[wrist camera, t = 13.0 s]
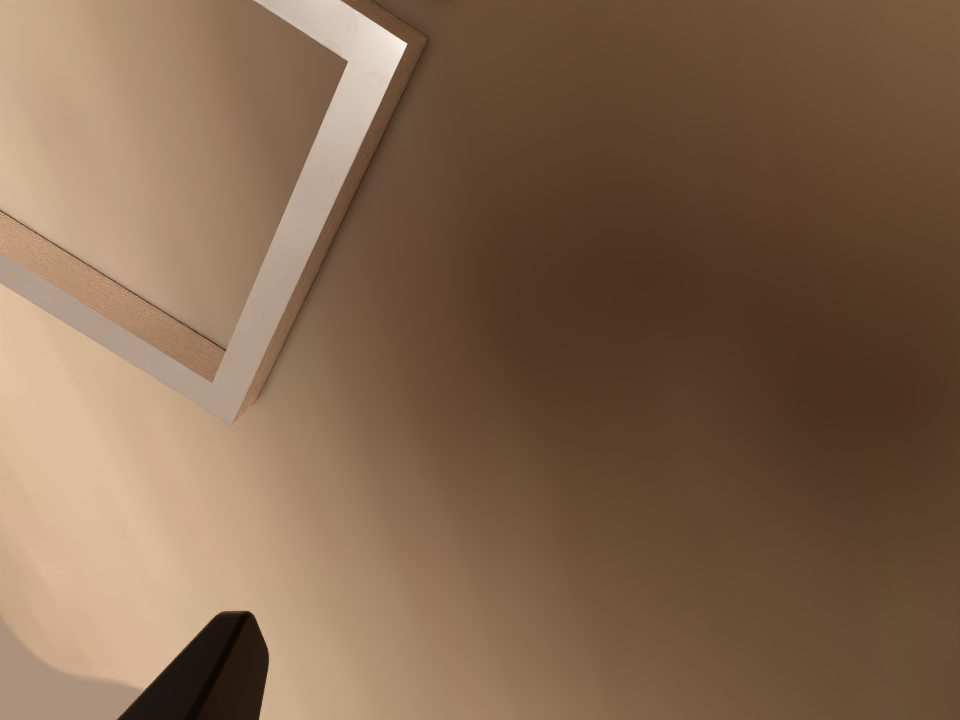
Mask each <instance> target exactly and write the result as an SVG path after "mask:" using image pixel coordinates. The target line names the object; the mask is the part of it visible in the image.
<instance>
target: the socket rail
mask: <svg viewBox="0 0 960 720" xmlns="http://www.w3.org/2000/svg"><path fill="white" fill-rule="evenodd" d="M255 1H256V2H258V3H259V4H261V5H262V6H264V7H265V8H267V9H268V10H270V11H272V12H273V13H275V14H276V15H278V16H279V17H281V18H282V19H284V20H285V21H287V22H289V23H290V24H292V25H293V26H295V27H296V28H298V29H299V30H301V31H302V32H304V33H305V34H307V35H309V36H310V37H312V38H313V39H315V40H316V41H318V42H319V43H321V44H322V45H324V46H326V47H327V48H329V49H330V50H332V51H333V52H335V53H336V54H338V55H339V56H341V57H342V58H344V59H346V60H347V61H348V63H347V66H346V68H345V71H344V73H343V75H342V78H341V80H340V82H339V85H338V87H337V89H336V92H335V94H334V97H333V99H332V101H331V104H330V106H329V108H328V111H327V113H326V115H325V118H324V120H323V123H322V125H321V127H320V130H319V132H318V134H317V137H316V139H315V141H314V144H313V146H312V149H311V151H310V153H309V156H308V158H307V160H306V163H305V165H304V167H303V170H302V172H301V175H300V177H299V179H298V182H297V184H296V186H295V189H294V191H293V193H292V196H291V198H290V201H289V203H288V205H287V208H286V210H285V212H284V215H283V217H282V219H281V222H280V224H279V227H278V229H277V231H276V234H275V236H274V238H273V241H272V243H271V245H270V248H269V250H268V253H267V255H266V257H265V260H264V262H263V264H262V267H261V269H260V271H259V274H258V276H257V279H256V281H255V283H254V286H253V288H252V290H251V293H250V295H249V298H248V300H247V302H246V305H245V307H244V309H243V312H242V314H241V316H240V319H239V321H238V324H237V326H236V328H235V331H234V333H233V335H232V338H231V340H230V342H229V345H228V347H227V350H226V351H225V350H223V349H222V348H220V347H218V346H217V345H215V344H214V343H212V342H210V341H209V340H207V339H206V338H204V337H202V336H201V335H199V334H198V333H196V332H194V331H193V330H191V329H189V328H188V327H186V326H185V325H183V324H181V323H180V322H178V321H177V320H175V319H173V318H172V317H170V316H168V315H167V314H165V313H164V312H162V311H160V310H159V309H157V308H156V307H154V306H152V305H151V304H149V303H147V302H146V301H144V300H143V299H141V298H139V297H138V296H136V295H135V294H133V293H131V292H130V291H128V290H126V289H125V288H123V287H122V286H120V285H118V284H117V283H115V282H114V281H112V280H110V279H109V278H107V277H106V276H104V275H102V274H101V273H99V272H97V271H96V270H94V269H93V268H91V267H89V266H88V265H86V264H85V263H83V262H81V261H80V260H78V259H76V258H75V257H73V256H72V255H70V254H68V253H67V252H65V251H64V250H62V249H60V248H59V247H57V246H55V245H54V244H52V243H51V242H49V241H47V240H46V239H44V238H43V237H41V236H39V235H38V234H36V233H35V232H33V231H31V230H30V229H28V228H26V227H25V226H23V225H22V224H20V223H18V222H17V221H15V220H14V219H12V218H10V217H9V216H7V215H5V214H4V213H2V212H1V211H0V283H1V284H3V285H4V286H6V287H8V288H9V289H11V290H12V291H14V292H16V293H17V294H19V295H21V296H22V297H24V298H25V299H27V300H29V301H30V302H32V303H34V304H35V305H37V306H39V307H40V308H42V309H43V310H45V311H47V312H48V313H50V314H52V315H53V316H55V317H56V318H58V319H60V320H61V321H63V322H65V323H66V324H68V325H69V326H71V327H73V328H74V329H76V330H78V331H79V332H81V333H82V334H84V335H86V336H87V337H89V338H91V339H92V340H94V341H96V342H97V343H99V344H100V345H102V346H104V347H105V348H107V349H109V350H110V351H112V352H113V353H115V354H117V355H118V356H120V357H122V358H123V359H125V360H126V361H128V362H130V363H131V364H133V365H135V366H136V367H138V368H139V369H141V370H143V371H144V372H146V373H148V374H149V375H151V376H153V377H154V378H156V379H157V380H159V381H161V382H162V383H164V384H166V385H167V386H169V387H170V388H172V389H174V390H175V391H177V392H179V393H180V394H182V395H183V396H185V397H187V398H188V399H190V400H192V401H193V402H195V403H197V404H198V405H200V406H201V407H203V408H205V409H206V410H208V411H210V412H211V413H213V414H214V415H216V416H218V417H219V418H221V419H223V420H224V421H226V422H227V423H229V424H231V425H232V424H233V423H234V422H235V421H236V420H237V419H238V418H239V417H240V416H241V415H242V414H243V413H244V412H245V411H246V410H247V409H248V408H249V407H250V406H251V405H252V404H253V403H254V402H255V401H256V400H257V398H258V396H259V394H260V392H261V390H262V388H263V386H264V384H265V382H266V379H267V377H268V375H269V373H270V371H271V369H272V367H273V365H274V363H275V360H276V358H277V356H278V354H279V352H280V350H281V348H282V346H283V344H284V342H285V339H286V337H287V335H288V333H289V331H290V329H291V327H292V325H293V323H294V320H295V318H296V316H297V314H298V312H299V310H300V308H301V306H302V304H303V302H304V299H305V297H306V295H307V293H308V291H309V289H310V287H311V285H312V283H313V280H314V278H315V276H316V274H317V272H318V270H319V268H320V266H321V264H322V262H323V259H324V257H325V255H326V253H327V251H328V249H329V247H330V245H331V243H332V240H333V238H334V236H335V234H336V232H337V230H338V228H339V226H340V224H341V222H342V219H343V217H344V215H345V213H346V211H347V209H348V207H349V205H350V203H351V201H352V198H353V196H354V194H355V192H356V190H357V188H358V186H359V184H360V182H361V179H362V177H363V175H364V173H365V171H366V169H367V167H368V165H369V163H370V161H371V158H372V156H373V154H374V152H375V150H376V148H377V146H378V144H379V142H380V139H381V137H382V135H383V133H384V131H385V129H386V127H387V125H388V123H389V121H390V118H391V116H392V114H393V112H394V110H395V108H396V106H397V104H398V102H399V99H400V97H401V95H402V93H403V91H404V89H405V87H406V85H407V83H408V81H409V78H410V76H411V74H412V72H413V70H414V68H415V66H416V64H417V62H418V59H419V57H420V55H421V53H422V51H423V49H424V47H425V45H426V43H427V41H428V38H427V37H426V36H424V35H423V34H421V33H419V32H418V31H416V30H415V29H413V28H412V27H410V26H409V25H407V24H406V23H404V22H403V21H401V20H400V19H398V18H397V17H395V16H394V15H392V14H390V13H389V12H387V11H386V10H384V9H383V8H381V7H380V6H378V5H377V4H375V3H374V2H372V1H371V0H255Z"/></svg>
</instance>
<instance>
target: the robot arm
mask: <svg viewBox="0 0 960 720" xmlns="http://www.w3.org/2000/svg"><path fill="white" fill-rule="evenodd" d="M268 666H269V653H268V648H267V645H266V643H265V640H264V638H263V636H262V633H261V631H260V628H259V626H258V623H257V621H256V618H255V616H254V615H253V614H252V613H251V612H249V611H224V612H221V613H219V614H217V615H216V616H215V617H214V618H213V619H212V620H211V621H210V622H209V623H208V624H207V625H206V626H205V627H204V628H203V629H202V630H201V631H200V632H199V633H198V634H197V636H196V637H195V638H194V639H193V640H192V641H191V642H190V643H189V644H188V645H187V646H186V647H185V648H184V649H183V650H182V651H181V652H180V654H179V655H178V656H177V657H176V658H175V659H174V660H173V661H172V662H171V663H170V664H169V665H168V666H167V667H166V668H165V669H164V670H163V672H162V673H161V674H160V675H159V676H158V677H157V678H156V679H155V680H154V681H153V682H152V683H151V684H150V685H149V686H148V687H147V688H146V689H145V691H144V692H143V693H142V694H141V695H140V696H139V697H138V698H137V699H136V700H135V701H134V702H133V703H132V704H131V705H130V706H129V708H128V709H127V710H126V711H125V712H124V713H123V714H122V715H121V716H120V717H119V718H118V719H117V720H259V716H260V711H261V705H262V700H263V694H264V689H265V683H266V678H267V672H268Z"/></svg>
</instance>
